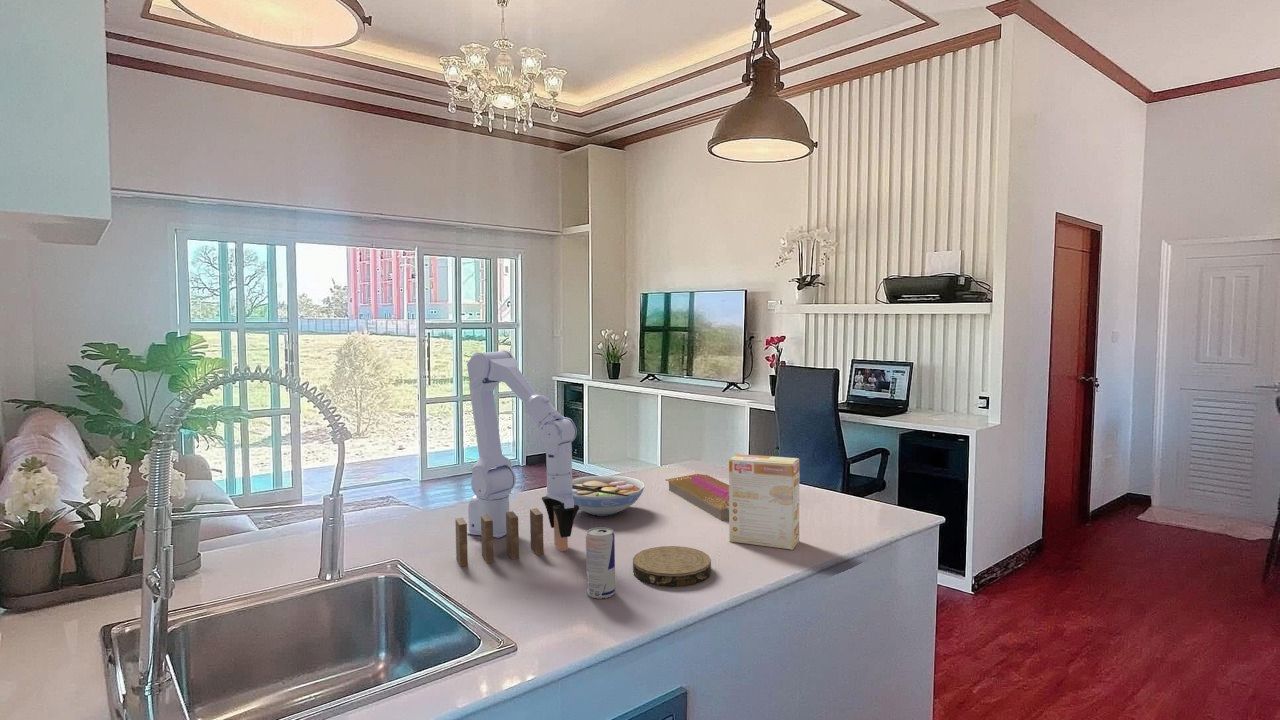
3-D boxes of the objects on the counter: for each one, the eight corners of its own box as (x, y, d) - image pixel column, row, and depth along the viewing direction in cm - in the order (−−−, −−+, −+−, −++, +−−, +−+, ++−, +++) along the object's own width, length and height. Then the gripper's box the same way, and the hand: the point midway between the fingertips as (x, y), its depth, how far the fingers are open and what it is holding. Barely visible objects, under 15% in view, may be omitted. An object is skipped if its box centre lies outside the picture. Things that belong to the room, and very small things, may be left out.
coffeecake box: (800, 541, 159) (800, 457, 158) (793, 550, 152) (793, 463, 151) (737, 533, 165) (737, 452, 164) (728, 542, 159) (728, 458, 158)
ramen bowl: (665, 508, 187) (664, 478, 186) (617, 531, 167) (617, 498, 167) (590, 496, 200) (590, 468, 200) (538, 516, 181) (538, 485, 180)
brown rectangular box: (665, 491, 207) (664, 471, 206) (708, 486, 212) (707, 466, 212) (719, 523, 174) (719, 499, 174) (768, 517, 179) (769, 493, 179)
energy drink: (619, 589, 132) (618, 528, 131) (609, 601, 127) (608, 537, 126) (593, 586, 134) (592, 525, 133) (582, 597, 129) (581, 534, 128)
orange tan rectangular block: (560, 551, 154) (560, 511, 153) (554, 544, 158) (553, 506, 158) (567, 550, 154) (567, 510, 154) (561, 543, 159) (560, 505, 158)
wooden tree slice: (726, 577, 138) (726, 562, 138) (661, 595, 130) (661, 579, 130) (680, 554, 152) (680, 541, 152) (618, 569, 143) (618, 555, 143)
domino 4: (536, 555, 152) (535, 514, 151) (530, 548, 156) (529, 509, 156) (543, 554, 152) (542, 514, 152) (537, 547, 157) (536, 508, 156)
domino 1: (460, 566, 145) (459, 524, 144) (456, 559, 150) (455, 518, 149) (467, 565, 146) (466, 523, 145) (463, 558, 150) (462, 517, 150)
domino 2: (486, 562, 147) (485, 521, 147) (481, 555, 152) (480, 515, 151) (493, 561, 148) (492, 520, 147) (489, 554, 152) (488, 514, 152)
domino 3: (511, 558, 149) (510, 518, 149) (506, 551, 154) (505, 512, 153) (519, 557, 150) (518, 517, 149) (513, 550, 155) (512, 511, 154)
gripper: (586, 477, 150) (587, 538, 151) (566, 464, 163) (567, 520, 164) (555, 481, 147) (556, 543, 148) (537, 467, 161) (538, 524, 162)
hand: (560, 531), depth 156 cm, fingers open, 7 cm apart
